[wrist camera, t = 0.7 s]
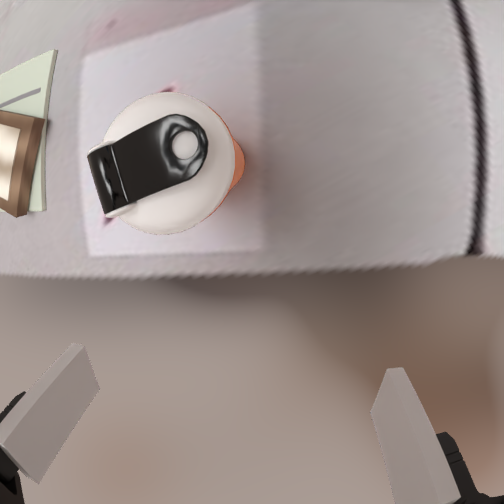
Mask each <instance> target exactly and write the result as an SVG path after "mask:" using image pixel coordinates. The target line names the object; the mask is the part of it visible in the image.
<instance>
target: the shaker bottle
mask: <svg viewBox="0 0 504 504" xmlns="http://www.w3.org/2000/svg"><path fill="white" fill-rule="evenodd" d="M87 158H88V162H89V165H90V169H91V173H92V176H93V179H94V183H95V186H96V189H97V193H98V196H99V199H100V202H101V205H102V208H103V211H104V214H106V217H108V218H113V217H117V216H119V217H120V219H121V220H123V221H124V222H125V223H127V224H128V225H130V226H131V227H133V228H135V229H138V230H140V231H142V232H145V233H150V234H155V235H169V234H174V233H179V232H182V231H185V230H187V229H189V228H191V227H194V226H195V225H197V224H198V223H199V222H201V221H203V220H204V219H206V218H207V217H208V216H210V215H211V214H212V213H213V212H214V211H215V210H216V209H217V208H218V207H219V206H220V205H221V204H222V202H223V200H224V199H225V197H226V196H227V194H228V192H229V191H230V190H231V189H232V188H233V187H234V186H235V185H236V184H237V183H238V182H239V180H240V179H241V177H242V174H243V172H244V167H245V159H244V154H243V152H242V149H241V148H240V146H239V145H238V143H237V142H236V141H235V140H234V139H233V137H232V136H231V133H230V131H229V129H228V127H227V125H226V124H225V123H224V121H223V120H222V118H221V117H220V116H219V115H218V114H217V113H216V112H215V111H214V110H212V109H211V108H210V107H208V106H207V105H206V104H204V103H203V102H201V101H199V100H198V99H196V98H194V97H192V96H189V95H185V94H182V93H176V92H162V93H155V94H151V95H148V96H145V97H143V98H140V99H138V100H137V101H135V102H133V103H132V104H130V105H129V106H127V107H126V108H125V109H124V110H123V111H122V112H121V113H120V114H119V115H118V116H117V117H116V119H115V120H114V121H113V122H112V124H111V125H110V127H109V129H108V131H107V133H106V135H105V137H104V139H103V142H102V143H100V144H98V145H96V146H94V147H93V148H92V149H90V150H89V151H88V153H87Z"/></svg>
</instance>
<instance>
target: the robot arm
mask: <svg viewBox="0 0 504 504" xmlns="http://www.w3.org/2000/svg"><path fill="white" fill-rule="evenodd" d="M99 390H100V388H99V385H98V382H97V380H96V377H95V374H94V371H93V369H92V366H91V363H90V360H89V357H88V354H87V351H86V348H85V346H84V345H80V344H75V343H72V344H71V345H70V346H69V347H68V348H67V349H66V350H65V351H64V352H63V353H62V354H61V355H60V356H59V358H58V359H57V360H56V361H55V362H54V363H53V364H52V365H51V366H50V367H49V368H48V369H47V370H46V371H45V373H44V374H43V375H42V376H41V377H40V378H39V379H38V380H37V381H36V383H35V384H34V385H33V386H32V387H31V388H30V389H29V390H28V391H27V392H22V393H21V394H19V395H17V396H16V397H15V398H14V399H13V400H12V401H11V402H10V404H9V406H7V407H6V408H5V409H4V411H2V413H1V414H0V504H25V503H24V498H23V493H22V488H21V482H20V477H19V474H18V472H17V471H18V469H20V470H21V472H22V473H23V474H24V475H25V476H26V477H28V478H30V479H31V480H33V481H34V482H36V483H37V484H39V483H40V481H41V480H42V478H43V476H44V475H45V473H46V471H47V470H48V468H49V466H50V465H51V463H52V462H53V460H54V459H55V457H56V455H57V454H58V452H59V451H60V449H61V447H62V446H63V444H64V442H65V441H66V440H67V438H68V436H69V435H70V433H71V431H72V430H73V429H74V427H75V426H76V424H77V423H78V421H79V420H80V418H81V417H82V415H83V413H84V412H85V411H86V409H87V407H88V406H89V405H90V403H91V402H92V400H93V399H94V397H95V396H96V394H97V393H98V391H99ZM370 413H371V416H372V420H373V423H374V426H375V430H376V433H377V437H378V440H379V444H380V447H381V451H382V454H383V458H384V462H385V465H386V469H387V473H388V477H389V481H390V485H391V489H392V493H393V497H394V502H395V504H504V495H503V496H498V497H489V496H487V495H486V494H483V493H479V492H478V491H477V489H476V487H475V485H474V483H473V480H472V478H471V475H470V473H469V471H468V468H467V466H466V464H465V462H464V461H463V457H462V455H461V453H460V452H459V448H458V446H457V444H456V442H455V440H454V439H453V438H452V437H451V436H450V435H449V434H448V433H447V432H443V433H440V434H435V432H434V430H433V428H432V426H431V423H430V421H429V419H428V417H427V415H426V413H425V410H424V408H423V406H422V404H421V402H420V400H419V398H418V396H417V394H416V392H415V390H414V388H413V386H412V384H411V382H410V380H409V378H408V376H407V375H406V373H405V371H404V369H403V368H392V369H387V370H386V373H385V376H384V379H383V381H382V384H381V387H380V389H379V392H378V395H377V397H376V400H375V402H374V405H373V407H372V410H371V412H370Z"/></svg>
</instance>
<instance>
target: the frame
mask: <svg viewBox="0 0 504 504" xmlns="http://www.w3.org/2000/svg"><path fill="white" fill-rule="evenodd" d="M44 122H45V119H43V118H38V117H34V116H29V115H24V114H19V113H14V112H9V111H4V110H0V208H1V209H2V210H4V211H6V212H7V213H9V214H11V215H13V216H14V217H16V218H17V217H20V216H23V215H26V214H27V208H28V200H29V193H30V186H31V180H32V174H33V169H34V164H35V159H36V154H37V150H38V145H39V141H40V137H41V133H42V129H43V126H44Z"/></svg>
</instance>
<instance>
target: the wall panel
mask: <svg viewBox="0 0 504 504" xmlns="http://www.w3.org/2000/svg"><path fill="white" fill-rule="evenodd" d="M57 52H58V50H55V49H53V50H51V51H48V52H46V53H44V54H41V55H39V56H37V57H35V58H33V59H30V60H28V61H26V62H24V63H22V64H20V65H18V66H16V67H14V68H12V69H11V70H9V71H7V72H5V73H3V74H1V75H0V110H4V111H9V112H14V113H19V114H24V115H29V116H34V117H38V118H43V119H45V122H44V126H43V129H42V133H41V137H40V141H39V145H38V150H37V154H36V159H35V164H34V169H33V174H32V180H31V186H30V193H29V200H28V208H27V211H44V210H46V197H45V143H46V127H47V115H48V106H49V97H50V90H51V84H52V77H53V72H54V66H55V61H56V56H57ZM0 212H6V211H4V210H2V209H1V208H0Z"/></svg>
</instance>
